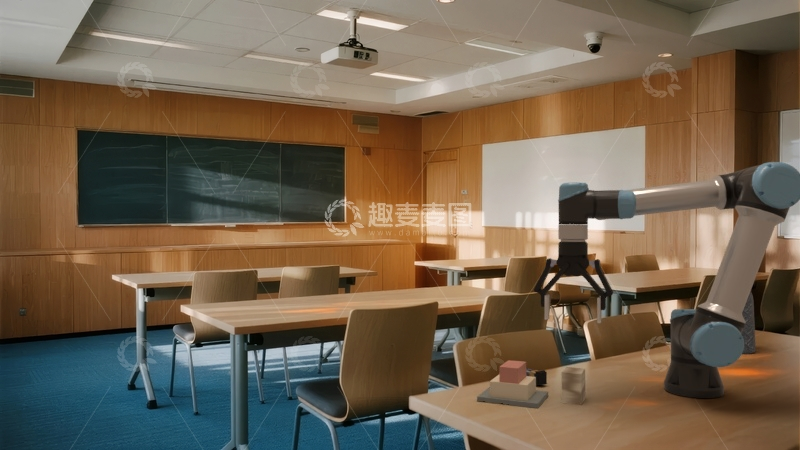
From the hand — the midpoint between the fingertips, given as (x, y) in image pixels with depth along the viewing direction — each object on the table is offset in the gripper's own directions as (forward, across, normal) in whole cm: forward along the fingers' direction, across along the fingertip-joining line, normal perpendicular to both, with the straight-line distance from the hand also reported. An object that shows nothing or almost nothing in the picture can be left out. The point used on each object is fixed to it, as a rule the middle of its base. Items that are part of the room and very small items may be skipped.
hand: (572, 321), depth 168 cm
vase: (+21, -44, -94) cm, 106 cm away
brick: (+21, 0, 0) cm, 21 cm away
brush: (+21, +16, -15) cm, 31 cm away
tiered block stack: (+21, +15, +5) cm, 26 cm away
